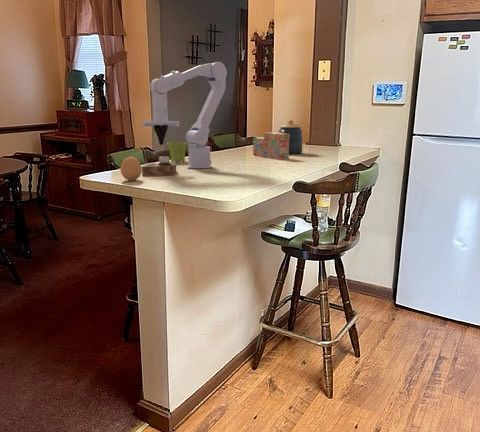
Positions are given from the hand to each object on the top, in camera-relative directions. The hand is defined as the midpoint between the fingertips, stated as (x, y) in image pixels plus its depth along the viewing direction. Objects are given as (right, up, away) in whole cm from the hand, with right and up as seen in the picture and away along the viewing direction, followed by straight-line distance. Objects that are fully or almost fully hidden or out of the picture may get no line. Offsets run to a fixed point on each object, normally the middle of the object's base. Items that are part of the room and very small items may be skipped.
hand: (161, 144), depth 190 cm
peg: (+2, -9, -7) cm, 12 cm away
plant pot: (+3, -4, +29) cm, 29 cm away
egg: (-7, -16, -22) cm, 28 cm away
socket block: (0, -12, -6) cm, 14 cm away
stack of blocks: (+47, 0, +45) cm, 65 cm away
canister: (+58, +4, +61) cm, 84 cm away
